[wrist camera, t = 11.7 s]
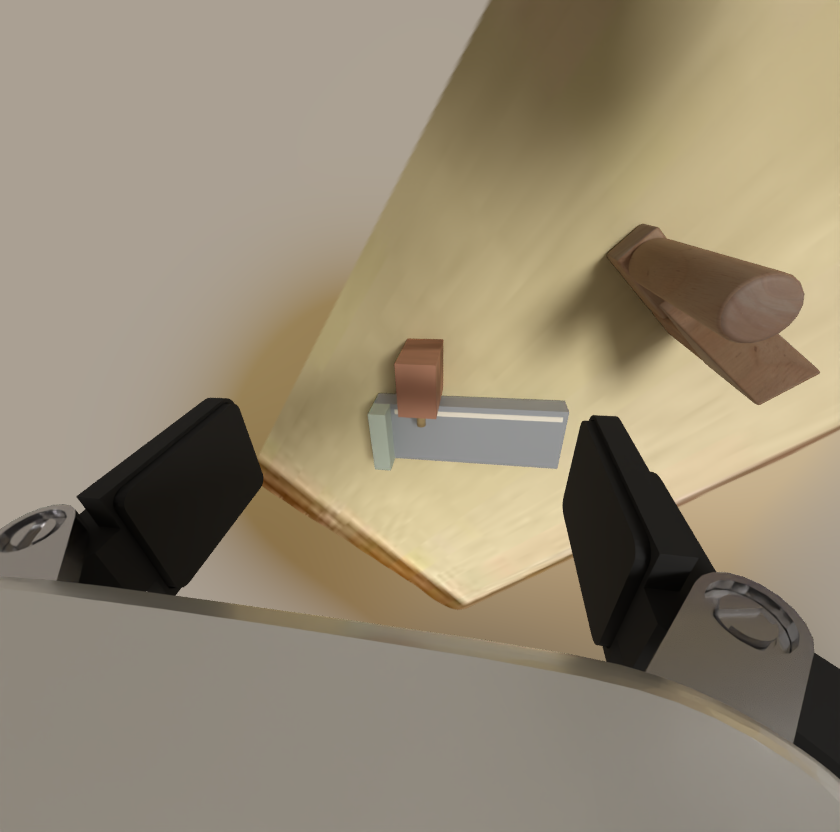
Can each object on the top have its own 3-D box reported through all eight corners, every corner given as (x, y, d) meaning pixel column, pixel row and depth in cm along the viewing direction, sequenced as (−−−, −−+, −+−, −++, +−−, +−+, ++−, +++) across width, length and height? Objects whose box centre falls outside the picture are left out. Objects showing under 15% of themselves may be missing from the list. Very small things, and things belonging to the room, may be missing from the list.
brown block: (407, 338, 40) (394, 364, 35) (443, 339, 40) (435, 365, 34) (411, 404, 45) (399, 436, 39) (443, 405, 44) (436, 439, 38)
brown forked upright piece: (669, 334, 36) (799, 441, 21) (603, 254, 33) (700, 310, 18) (707, 308, 34) (881, 403, 19) (642, 221, 31) (785, 252, 16)
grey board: (378, 393, 45) (367, 414, 41) (565, 400, 41) (573, 424, 37) (384, 445, 49) (375, 469, 45) (554, 455, 46) (560, 482, 41)
